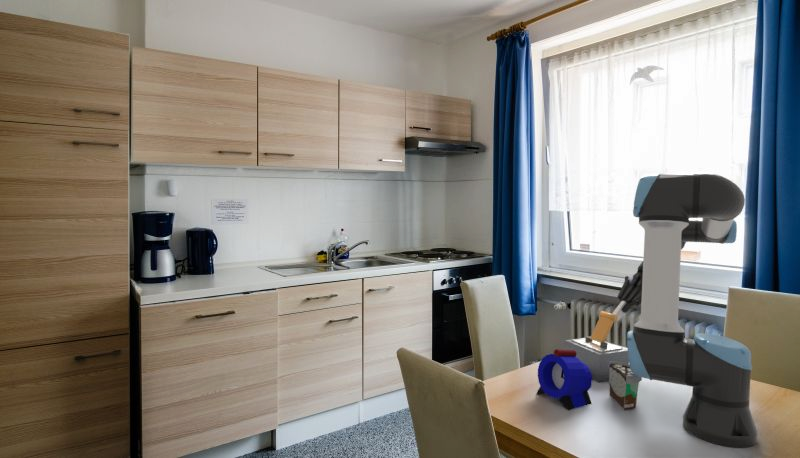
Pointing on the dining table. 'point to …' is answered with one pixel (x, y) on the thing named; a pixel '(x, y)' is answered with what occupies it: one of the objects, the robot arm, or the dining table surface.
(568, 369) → the alarm clock
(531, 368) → the dining table surface
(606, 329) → the lever
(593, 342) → the box
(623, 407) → the food container
